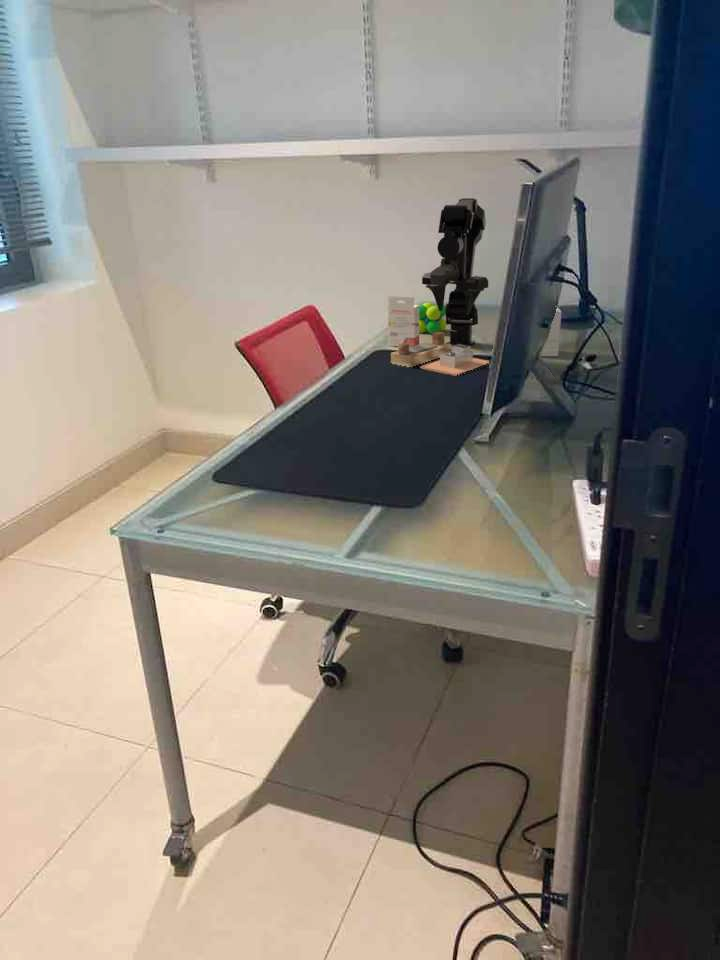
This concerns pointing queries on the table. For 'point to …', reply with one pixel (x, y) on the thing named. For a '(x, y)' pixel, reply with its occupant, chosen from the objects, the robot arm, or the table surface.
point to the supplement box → (553, 336)
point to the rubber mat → (454, 371)
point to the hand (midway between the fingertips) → (453, 312)
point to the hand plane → (421, 351)
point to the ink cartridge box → (403, 321)
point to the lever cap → (457, 356)
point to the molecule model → (431, 318)
